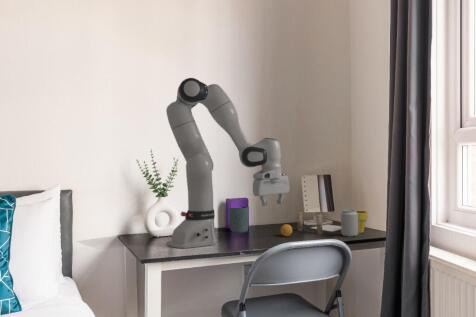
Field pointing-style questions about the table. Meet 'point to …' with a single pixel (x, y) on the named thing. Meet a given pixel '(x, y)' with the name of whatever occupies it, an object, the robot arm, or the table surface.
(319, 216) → the right post
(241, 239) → the table surface
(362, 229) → the plant pot
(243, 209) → the dark grey cylinder
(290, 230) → the ball
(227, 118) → the robot arm
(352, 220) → the can
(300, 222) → the left post
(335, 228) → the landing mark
